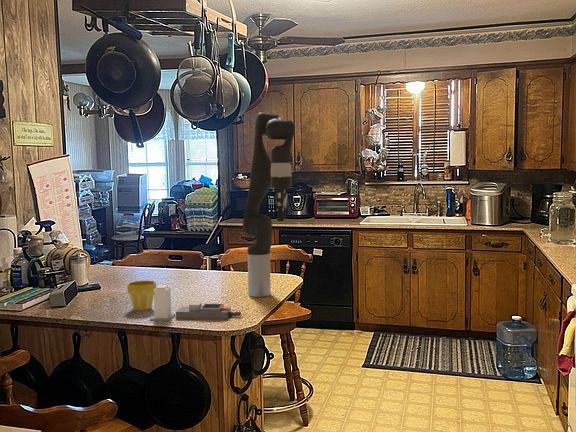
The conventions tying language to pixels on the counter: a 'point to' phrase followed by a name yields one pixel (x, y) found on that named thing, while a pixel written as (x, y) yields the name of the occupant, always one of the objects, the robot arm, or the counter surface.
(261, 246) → the robot arm
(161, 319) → the pad
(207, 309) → the power strip
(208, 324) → the counter surface
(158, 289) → the block
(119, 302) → the counter surface
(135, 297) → the plant pot
